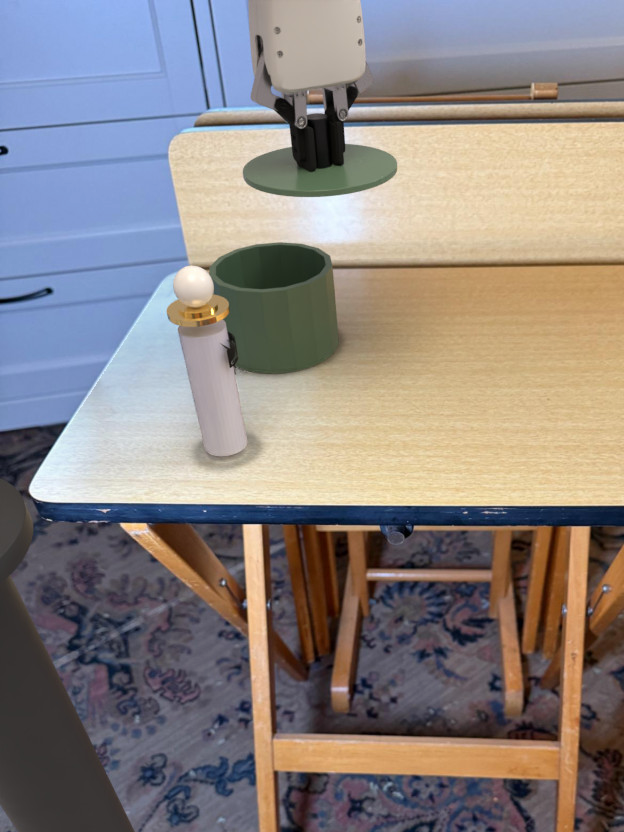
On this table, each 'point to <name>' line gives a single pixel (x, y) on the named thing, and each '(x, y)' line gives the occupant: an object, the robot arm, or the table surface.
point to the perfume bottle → (209, 360)
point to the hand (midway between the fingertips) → (320, 163)
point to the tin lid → (320, 168)
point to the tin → (278, 305)
